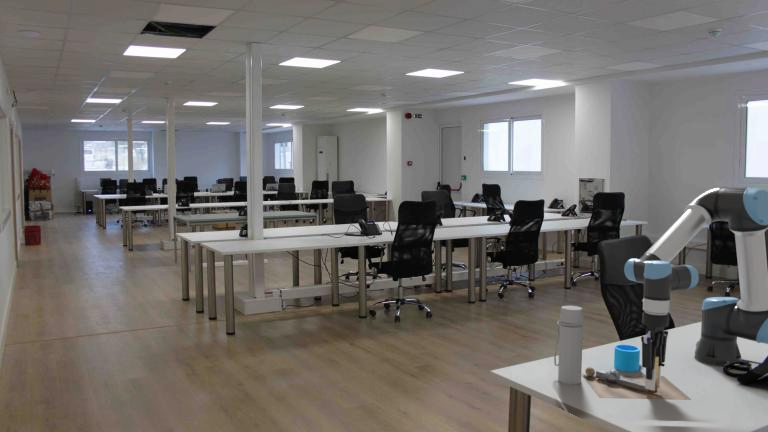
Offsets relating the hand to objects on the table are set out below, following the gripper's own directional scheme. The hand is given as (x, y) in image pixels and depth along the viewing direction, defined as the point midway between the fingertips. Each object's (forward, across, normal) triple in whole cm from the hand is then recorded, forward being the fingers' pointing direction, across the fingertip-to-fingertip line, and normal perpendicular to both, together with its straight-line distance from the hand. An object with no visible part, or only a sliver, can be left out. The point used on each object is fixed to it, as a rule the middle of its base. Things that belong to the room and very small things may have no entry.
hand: (652, 387), depth 195 cm
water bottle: (+3, +8, -24) cm, 26 cm away
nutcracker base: (+3, -2, -7) cm, 8 cm away
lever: (+1, 0, -8) cm, 9 cm away
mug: (+3, -20, -17) cm, 27 cm away
